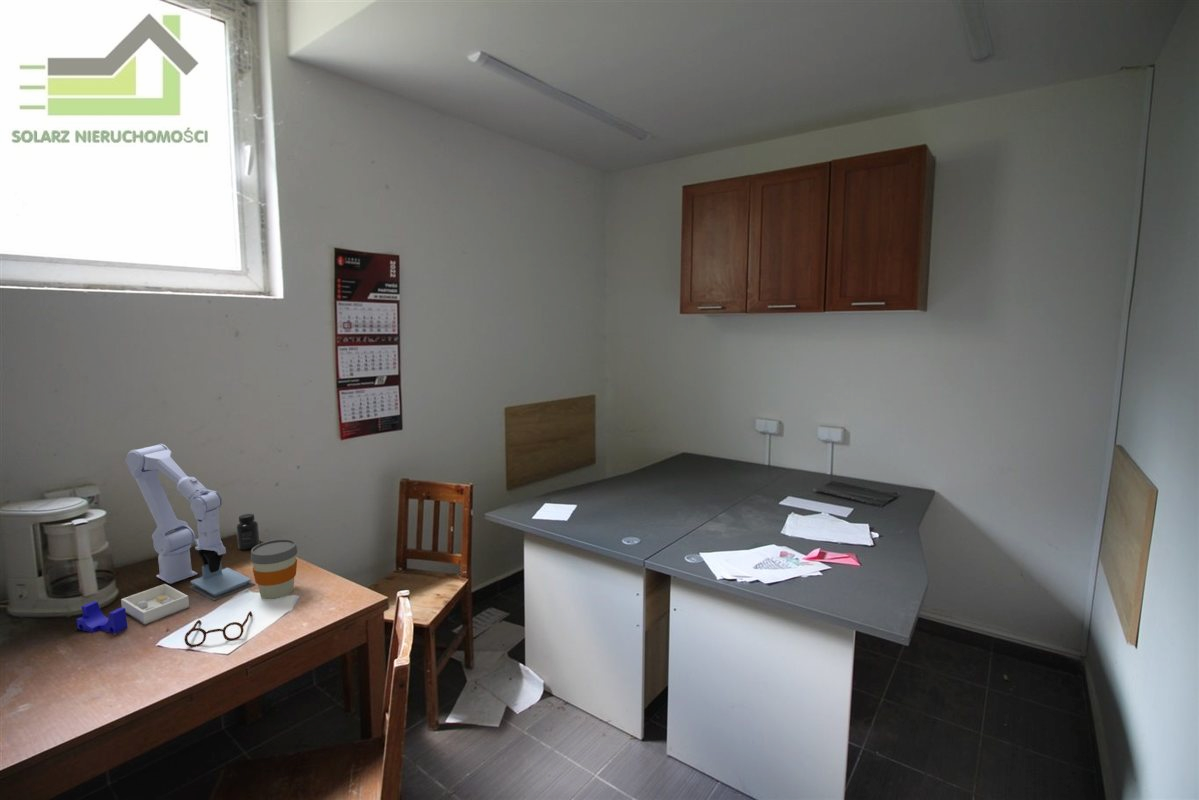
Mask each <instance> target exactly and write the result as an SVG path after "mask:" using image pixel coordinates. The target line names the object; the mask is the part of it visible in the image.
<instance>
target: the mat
mask: <svg viewBox="0 0 1199 800" xmlns="http://www.w3.org/2000/svg"><path fill="white" fill-rule="evenodd" d="M253 586H256V582H253V581H250V582H247V584H246V585H244V586H241V587H239V588H236V589H233V590H231V591H228V592H226V593H223V594H221V595H218V596H214V595H212V594H210V593H209V592H207V591H205V590H203V589H201V588H199V587H197V586H196V585H194V584H192V585H190V586H189V587H188V589H190V590H192V591H194V592H196V593H198V594H200V595H202V596H203V597H205V598H207V599H209V600H211V601H213V602H216V601H218V600H220V599H223V598H225V597H228V596H230V595H232V594H235V593H238V592H241V591H243V590H245V589H247V588H251V587H253Z"/></svg>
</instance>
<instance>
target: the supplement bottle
mask: <svg viewBox="0 0 1199 800" xmlns="http://www.w3.org/2000/svg"><path fill="white" fill-rule="evenodd" d="M238 522H239V523H238V524H237V525H236V527H235V528H236V538H237V547H238V549H239V550H241V549H242V550H241V551H247V550H252V548H253V547H255V546H256V545H258V544H261V543H260V534H259V533H260V532H259V523H258V522H257V521H256V520H255V514H254V513H246V514H245V513H244V514H241V515H239V516H238Z"/></svg>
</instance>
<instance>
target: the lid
mask: <svg viewBox="0 0 1199 800" xmlns="http://www.w3.org/2000/svg"><path fill="white" fill-rule="evenodd" d="M247 582H253V581H252V578H250V577H248V576H245V575H244V574H242V573H240V572H238V571H235V570H233V569H232V568H230V567H225V568H223V567H222V561H221V562H220V567H219V570H218V571H216V572H213V573H211V572H210V569H209V565H208V564H207V565H204V564H203V565H201V576H200V577H197V578H194V579H192V580H190V584H192V585H196V586H197V587H199V588H201V589H203V590H205V591H207V592H209V593H210V594H212V595H214V596H218V595H221V594H223V593H226V592H228V591H231V590H233V589H236V588H239V587H241V586H244V585H246V584H247Z"/></svg>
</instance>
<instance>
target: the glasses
mask: <svg viewBox="0 0 1199 800" xmlns="http://www.w3.org/2000/svg"><path fill="white" fill-rule="evenodd" d="M252 616H253V613H252V611H249V612H248V613H247V615H246V618H245V620H244V621H243V623H241V622H239V621H238V622H236V621H234V622H229V623H227V624H226V625H225V626H224V627H223V628H215V629H209V630H207V631H206V630H205V629H203V628H201V627H197V625H201V624H202V621H201V620H200V619H198V620H197V621H196V622H194V623H195V624H194V625H193V626H192V628H191V629H190V630H188V631H187V632H186V633H185V635H184V644H185V645H186V646H188V647H190V648H196V646H197V647H199V646H202V645H203V644H204V643H205V641H206V639H207V635H208V634H210V633H216V632H222V636H223V638H224V639H225V641H237V640H238V639H240V638H241V637H242V636H243V633H244V627H245V625H246V623H247V622H248V621H249V617H252ZM234 625H236V626H238V627H239V628H240V633H239V634H238V636H235V637H229V636H227V633H226V630H227V629H228V628H229V627H231V626H234ZM196 631H197V632H201V633H202V635H203V637H202V640H201V641H200V642H199V643H197V644H196V643H195V644H194V643H193V644H192V643H190V642H189V640H188V637H189V636H190V635H191V634H192V632H196Z"/></svg>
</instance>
